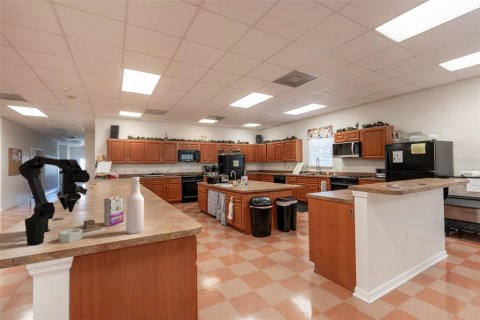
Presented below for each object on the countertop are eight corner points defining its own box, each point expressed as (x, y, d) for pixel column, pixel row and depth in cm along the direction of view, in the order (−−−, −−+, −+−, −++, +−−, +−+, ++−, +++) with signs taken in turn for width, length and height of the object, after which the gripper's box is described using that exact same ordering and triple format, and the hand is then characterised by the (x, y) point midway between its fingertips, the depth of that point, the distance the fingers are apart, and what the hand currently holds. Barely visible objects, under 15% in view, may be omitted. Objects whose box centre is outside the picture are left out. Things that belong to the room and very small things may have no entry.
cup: (33, 241, 108) (34, 216, 109) (50, 240, 109) (50, 215, 109) (19, 247, 101) (19, 220, 101) (37, 246, 101) (38, 219, 102)
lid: (75, 230, 125) (75, 221, 125) (95, 226, 133) (96, 217, 133) (81, 233, 119) (81, 223, 119) (102, 229, 126) (102, 220, 127)
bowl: (56, 240, 110) (57, 231, 110) (78, 235, 117) (78, 227, 117) (62, 244, 104) (62, 235, 105) (84, 239, 112) (85, 230, 112)
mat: (72, 230, 125) (72, 229, 125) (96, 226, 135) (96, 225, 135) (80, 235, 117) (80, 234, 117) (106, 230, 126) (106, 229, 126)
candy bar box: (117, 221, 146) (117, 196, 147) (123, 221, 145) (124, 196, 146) (103, 225, 135) (103, 198, 136) (110, 226, 134) (110, 198, 135)
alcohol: (144, 232, 122) (145, 177, 123) (126, 235, 118) (127, 177, 118) (142, 228, 130) (142, 176, 130) (125, 230, 125) (126, 177, 126)
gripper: (92, 182, 123) (91, 210, 123) (80, 180, 135) (79, 206, 134) (67, 183, 114) (66, 214, 114) (56, 181, 126) (56, 209, 126)
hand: (68, 210), depth 122 cm, fingers open, 9 cm apart
